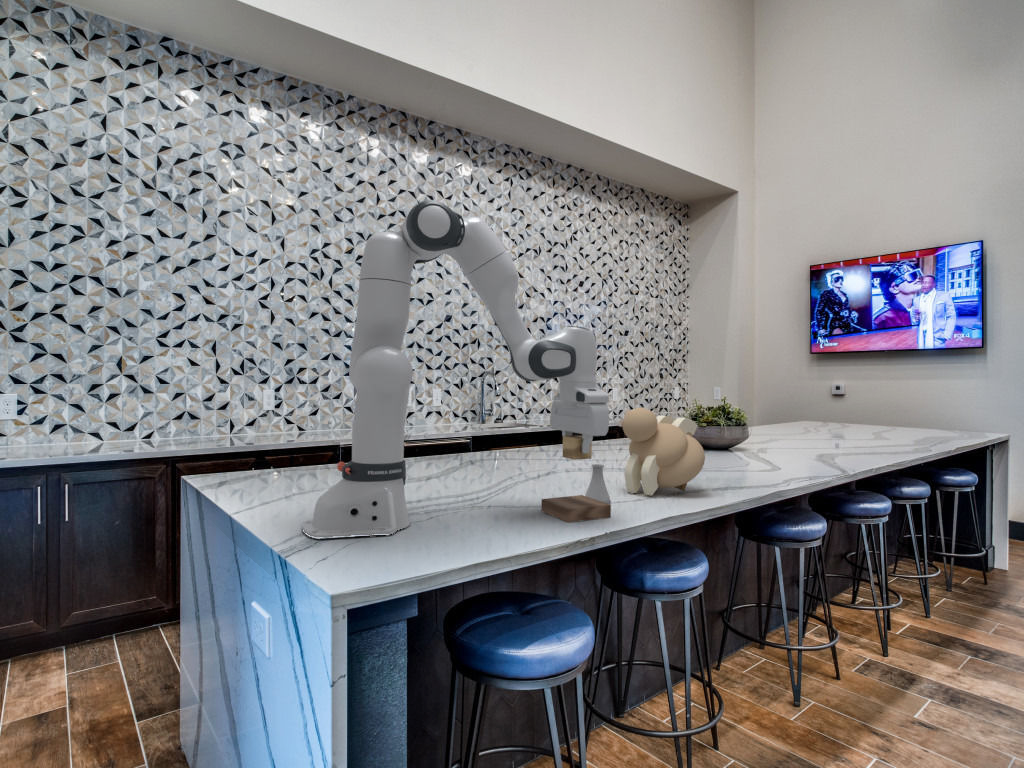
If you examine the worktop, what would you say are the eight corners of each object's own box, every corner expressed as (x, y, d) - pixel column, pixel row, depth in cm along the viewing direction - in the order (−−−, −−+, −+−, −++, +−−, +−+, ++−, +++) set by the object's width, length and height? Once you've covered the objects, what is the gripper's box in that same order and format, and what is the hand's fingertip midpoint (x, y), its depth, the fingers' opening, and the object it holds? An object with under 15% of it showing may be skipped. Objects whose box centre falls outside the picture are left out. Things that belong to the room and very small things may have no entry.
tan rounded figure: (635, 377, 179) (702, 379, 162) (667, 442, 192) (733, 449, 175) (585, 447, 164) (653, 456, 147) (624, 511, 177) (691, 527, 160)
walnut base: (568, 522, 132) (568, 509, 132) (541, 511, 143) (541, 499, 143) (610, 517, 138) (610, 504, 138) (581, 506, 149) (581, 495, 149)
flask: (609, 499, 158) (610, 463, 158) (611, 505, 151) (612, 467, 150) (583, 498, 159) (583, 462, 158) (583, 504, 151) (584, 466, 151)
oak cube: (574, 459, 137) (574, 438, 137) (562, 456, 141) (562, 436, 141) (591, 458, 139) (591, 437, 139) (579, 455, 144) (579, 435, 144)
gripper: (544, 392, 148) (543, 446, 148) (591, 395, 130) (590, 457, 130) (565, 392, 151) (564, 445, 151) (614, 395, 133) (613, 455, 133)
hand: (576, 451), depth 140 cm, fingers closed on oak cube, 5 cm apart
